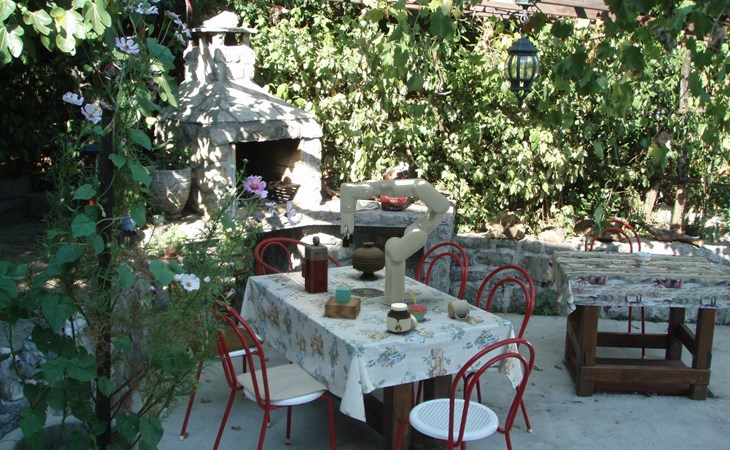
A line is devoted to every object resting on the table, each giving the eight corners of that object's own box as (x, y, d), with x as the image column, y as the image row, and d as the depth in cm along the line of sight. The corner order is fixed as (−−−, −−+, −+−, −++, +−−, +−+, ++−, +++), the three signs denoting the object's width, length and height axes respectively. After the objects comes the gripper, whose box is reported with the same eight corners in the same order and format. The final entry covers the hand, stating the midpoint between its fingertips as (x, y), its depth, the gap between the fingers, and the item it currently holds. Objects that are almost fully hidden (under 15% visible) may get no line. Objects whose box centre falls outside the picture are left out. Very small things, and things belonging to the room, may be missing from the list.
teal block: (350, 299, 355) (350, 286, 353) (348, 303, 349) (348, 290, 348) (337, 298, 355) (337, 286, 354) (335, 302, 350) (335, 289, 348)
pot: (343, 278, 414) (346, 241, 412) (362, 274, 429) (365, 238, 426) (371, 284, 404) (374, 246, 402) (389, 280, 419) (393, 243, 416)
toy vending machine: (300, 290, 391) (300, 236, 386) (320, 287, 397) (320, 234, 391) (307, 294, 384) (307, 239, 378) (327, 292, 389) (328, 237, 384)
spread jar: (384, 332, 328) (384, 306, 326) (394, 325, 338) (394, 299, 336) (410, 336, 323) (411, 309, 321) (420, 329, 333) (420, 302, 331)
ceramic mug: (446, 315, 354) (446, 298, 352) (462, 313, 356) (463, 297, 354) (455, 322, 344) (456, 305, 342) (472, 321, 346) (473, 304, 344)
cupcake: (413, 323, 341) (413, 296, 339) (404, 317, 348) (405, 292, 346) (430, 321, 344) (431, 295, 342) (421, 315, 352) (422, 290, 350)
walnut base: (360, 310, 359) (360, 297, 358) (355, 319, 345) (355, 306, 344) (330, 308, 361) (330, 296, 360) (324, 317, 347) (324, 304, 346)
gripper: (343, 206, 370) (343, 241, 374) (336, 212, 354) (336, 248, 357) (358, 206, 369) (358, 241, 372) (353, 212, 352) (352, 249, 356)
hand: (347, 245), depth 365 cm, fingers open, 9 cm apart
